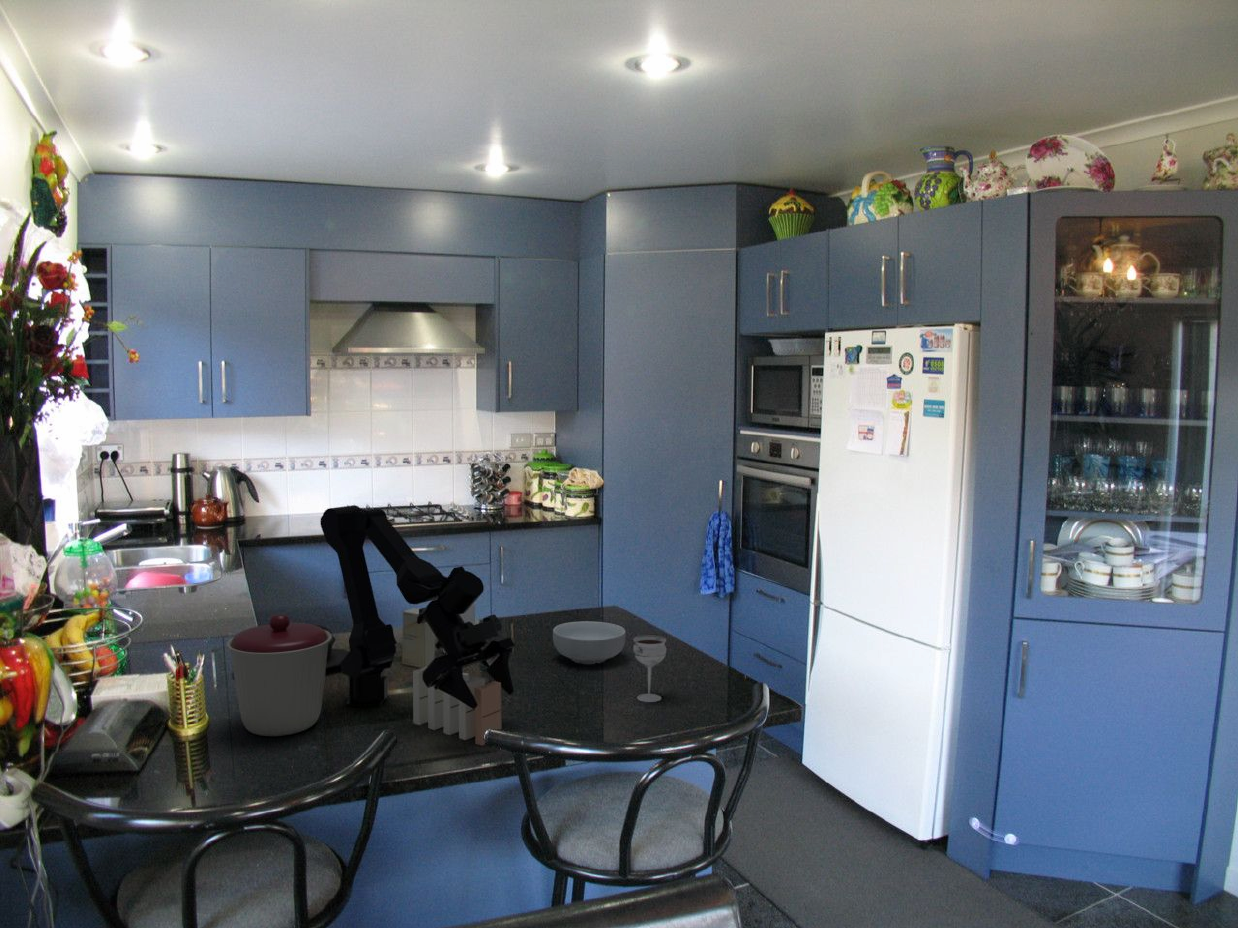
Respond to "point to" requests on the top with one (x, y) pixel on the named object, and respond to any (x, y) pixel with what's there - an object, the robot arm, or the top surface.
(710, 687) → the top surface
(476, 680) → the domino
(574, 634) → the cereal bowl
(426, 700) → the domino
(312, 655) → the canister
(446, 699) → the domino
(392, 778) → the top surface
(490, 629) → the robot arm
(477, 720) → the domino
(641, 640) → the wineglass
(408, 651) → the skincare box
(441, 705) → the domino
